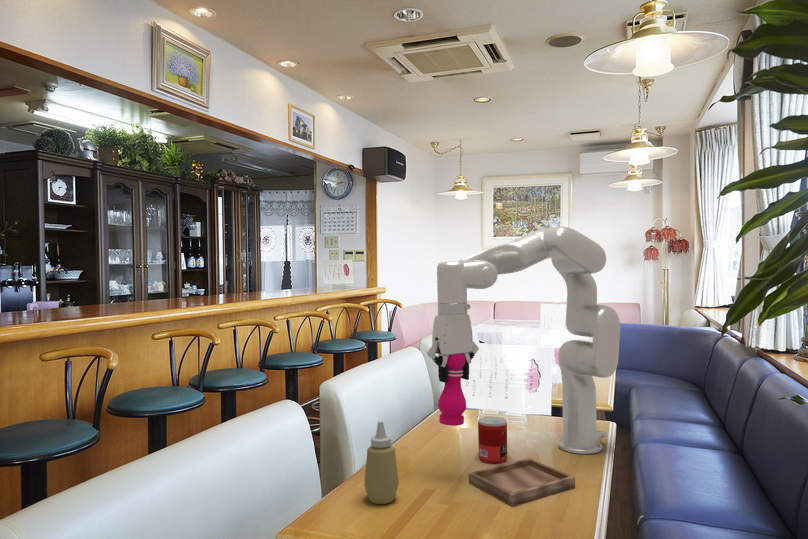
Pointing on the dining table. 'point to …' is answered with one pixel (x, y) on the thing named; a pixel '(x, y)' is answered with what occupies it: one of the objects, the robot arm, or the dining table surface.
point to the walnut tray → (521, 481)
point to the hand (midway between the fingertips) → (454, 379)
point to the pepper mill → (453, 393)
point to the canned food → (492, 439)
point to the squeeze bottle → (381, 468)
